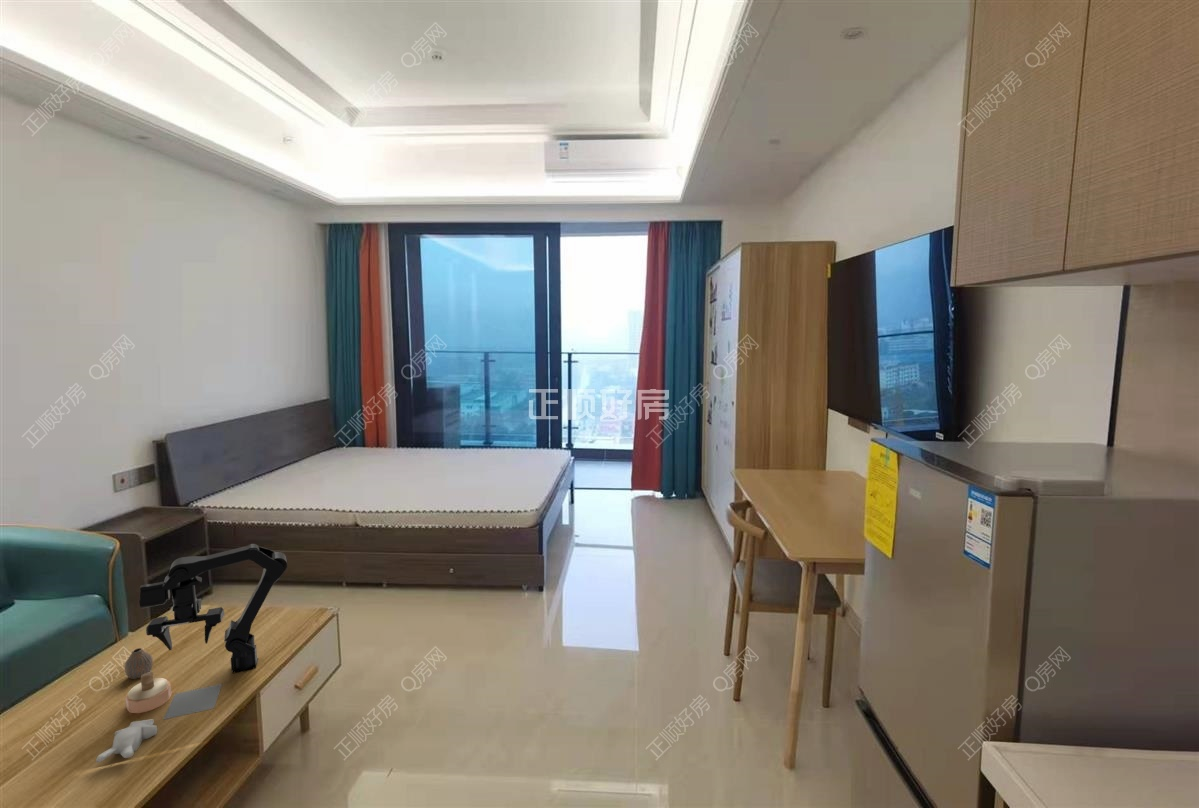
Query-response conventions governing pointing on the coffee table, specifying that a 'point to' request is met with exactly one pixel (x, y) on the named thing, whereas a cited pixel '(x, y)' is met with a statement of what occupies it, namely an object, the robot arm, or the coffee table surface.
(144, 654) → the vase
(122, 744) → the grey toy figurine
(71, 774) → the coffee table surface
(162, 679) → the lid
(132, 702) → the bowl
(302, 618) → the coffee table surface
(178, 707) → the mat
